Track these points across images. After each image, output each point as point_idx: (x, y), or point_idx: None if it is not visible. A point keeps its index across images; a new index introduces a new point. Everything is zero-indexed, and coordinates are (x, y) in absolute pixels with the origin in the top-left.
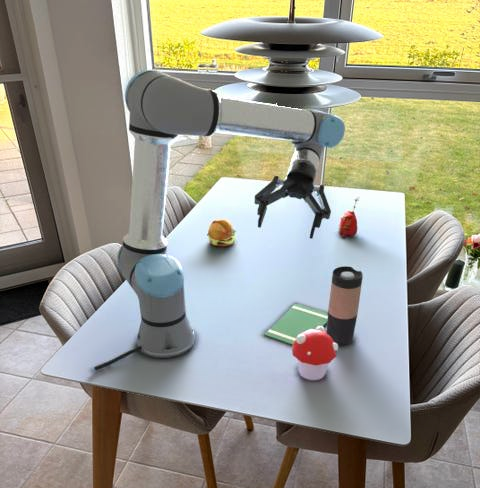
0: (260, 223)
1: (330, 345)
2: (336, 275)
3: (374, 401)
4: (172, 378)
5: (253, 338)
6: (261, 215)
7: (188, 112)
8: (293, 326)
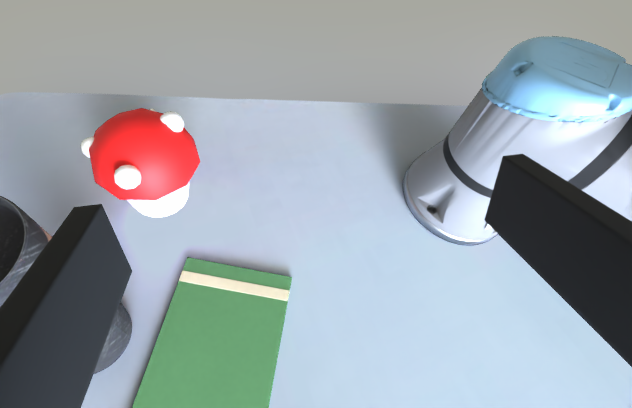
0: (497, 182)
1: (99, 128)
2: (13, 250)
3: (30, 152)
4: (382, 128)
5: (310, 258)
6: (548, 178)
7: None
8: (230, 337)
